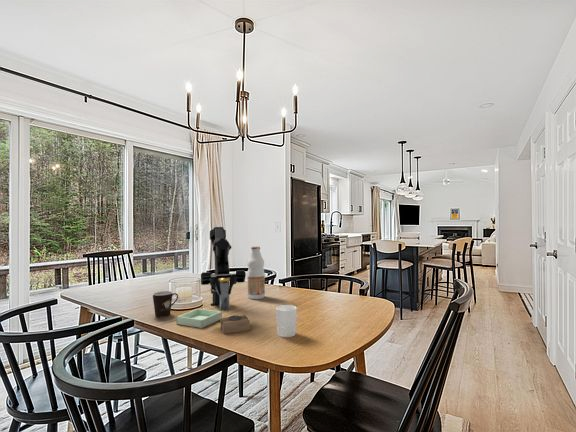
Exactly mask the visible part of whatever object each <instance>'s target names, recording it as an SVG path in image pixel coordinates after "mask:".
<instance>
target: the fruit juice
mask: <svg viewBox="0 0 576 432" xmlns="http://www.w3.org/2000/svg"><path fill="white" fill-rule="evenodd" d="M250 249H251V252H250V256H249V258H248V260H247V268H248V270H247V274H246V275H247V298H248V299H250V300H260V299H264V298H265V294H266V289H265V287H266V286H265V285H266V283H265V280H266V279H265V269H264V266H265V261H264V258H263V256H262V253H261V251H260V250H261V247H260V246H251V248H250Z"/></svg>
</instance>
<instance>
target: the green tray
mask: <svg viewBox="0 0 576 432" xmlns="http://www.w3.org/2000/svg"><path fill="white" fill-rule="evenodd" d="M222 314H223V311H221V310H212V309H205V308H195V309H193V310H191V311H188V312H185V313H183V314H180V315H177V316H176V325H182V326H188V327H193V328H200V329H203V328H205V327H208V326H209V325H212V324H214V323H216V322H218V321H221V318H223V317H222V316H223V315H222Z"/></svg>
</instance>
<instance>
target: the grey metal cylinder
mask: <svg viewBox="0 0 576 432" xmlns="http://www.w3.org/2000/svg"><path fill="white" fill-rule="evenodd" d="M218 281H219V288H220V306H219V311H221V312H227V311H230V295H229V286H230V278H229V277H222V278H218Z"/></svg>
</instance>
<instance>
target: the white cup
mask: <svg viewBox="0 0 576 432" xmlns="http://www.w3.org/2000/svg"><path fill="white" fill-rule="evenodd" d="M297 309H298V308H297V307H296V305H291V304H282V305H278V306H276V307H275V318H276V328H277V336H279V337H281V338H292V337H294V336H296V333H297V332H296V330H297V314H298V312H297V311H298V310H297Z"/></svg>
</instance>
